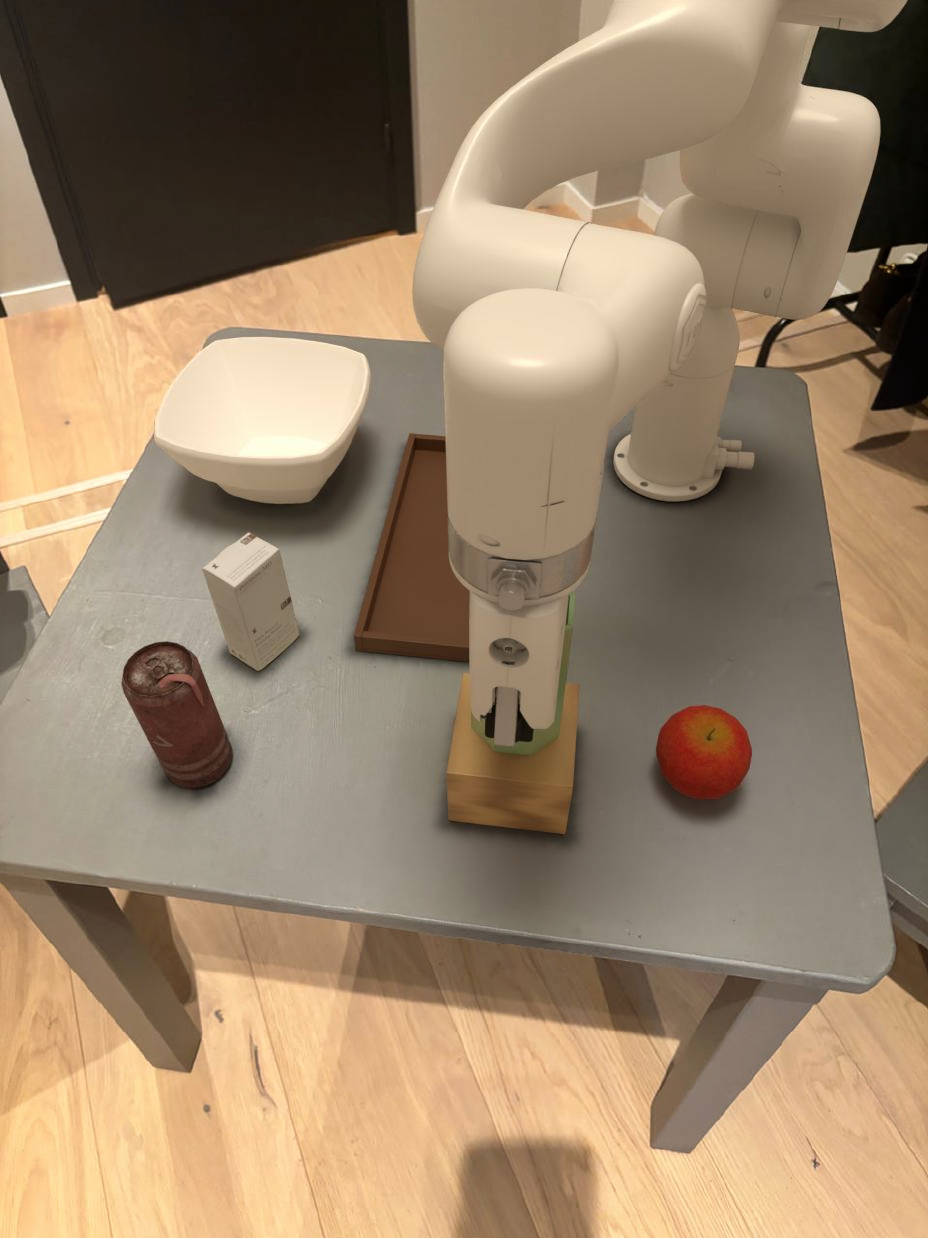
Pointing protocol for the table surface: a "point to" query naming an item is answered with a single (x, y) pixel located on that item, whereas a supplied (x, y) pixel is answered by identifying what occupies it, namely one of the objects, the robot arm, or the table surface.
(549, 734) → the green cup
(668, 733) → the apple
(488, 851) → the table surface
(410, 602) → the tray
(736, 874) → the table surface
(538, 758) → the block
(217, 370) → the bowl
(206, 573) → the cosmetic box
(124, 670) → the can
